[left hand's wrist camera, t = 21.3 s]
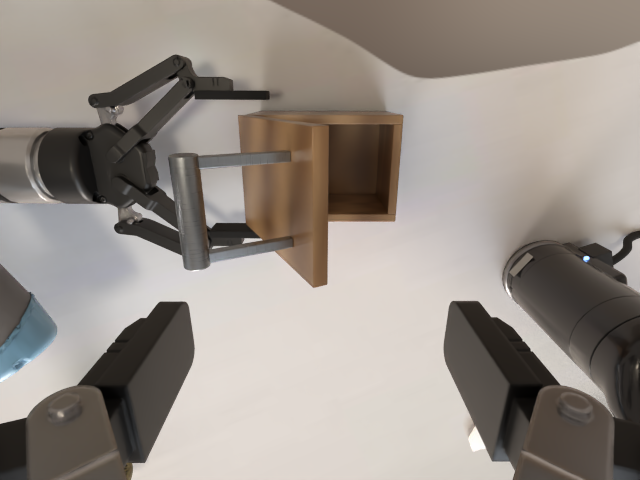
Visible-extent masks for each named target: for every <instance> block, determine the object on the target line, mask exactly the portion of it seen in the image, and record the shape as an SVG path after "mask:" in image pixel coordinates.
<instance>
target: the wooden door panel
mask: <svg viewBox="0 0 640 480" xmlns="http://www.w3.org/2000/svg"><path fill="white" fill-rule="evenodd" d="M238 121H239V134H240V148H241V153H235V154H220V155H204V156H198V154H195V153H178V154H172V155H169V156H168V159H169V166H170V173H171V180H172V187H173V194H174V201H175V208H176V215H177V222H178V229H179V236H180V243H181V250H182V257H183V264H184V268H185V269H186V270H190V271H198V270H203V269H206V268H208V267H209V266H210V264H211V263H213V262H218V261H223V260H229V259H234V258H239V257H245V256H250V255H255V254H261V253H266V252H271V251H275V252H276V253H277V254H278V255H279V256H280V257H281V258H282V259H283V260H285V261H286V262H287V263H288V264H289V265H290V266H291V267H292V268H293V269H294V270H295V271H296V272H297V273H298V274H299V275H300V276H301V277H302V278H304V279H305V280H306V281H307V282H308V283H309V284H310V285H311V286H312V287H313V288H315V287H319V286H323V285H327V261H328V159H329V126H328V125H321V124H314V123H306V122H298V121H291V120H283V119H276V118H268V117H260V116H253V115H238ZM235 166H242V175H243V189H244V203H245V216H246V224H247V225H248V226H249V227H250V228H251V229H252V230H253V231H254V232H255V233H256V234H257V235H258V236H259V237H260V238H261V239H262V241H257V242H251V243H245V244H239V245H233V246H228V247H222V248H216V249H210V250H209V244H208V235H207V226H206V218H205V209H204V200H203V191H202V182H201V174H200V169H210V168H223V167H235Z"/></svg>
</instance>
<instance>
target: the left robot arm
mask: <svg viewBox="0 0 640 480" xmlns="http://www.w3.org/2000/svg"><path fill="white" fill-rule="evenodd" d="M638 238H640V231H637V232H634V233H631V234H629V235H628V236H626V237H625V238H624V240H623V248H622V249H621V251H620V252H618V253H617V254H616V255H614V256H613V257H612V251H610V250H608V249H606V248H604V247H603V246H601V245H599V244H597V243H593V244H590V245H587V246H584V247H581V248H578V247H576V246H575V245H573V244H571V243H566V244H560V243H557V242H554V241H539V242H535V243H531V244H529V245H527V246H525V247H523V248H522V249H520V250H519V251H517V252H516V253H515V254H514V255H513V256H512V257H511V259H510V260H509V261H508V263H507V265H506V267H505V270H504V273H503V285H504V288H505V290H506V292H507V294H508V295H509V296H510V297H511V298H512V299H513V300H514V301H515V302H516V303H517V304H519V305H520V306H521V307H522V308H523V309H524V311H525V312H526V313H527V314H528V315H529V316H530V317H531V318H532V319H533V320H534V321H535V322H536V323H537V324H538V325H539V326H540V327H541V328H542V329H543V330H544V331H545V332H546V334H547V335H548V336H549V337H550V338H551V339H552V340H553V341H554V342H555V343H556V344H557V345H558V346H559V347H560V348H561V349H562V350H563V351H564V352H565V353H566V354H567V355H568V356H569V357H570V358H571V360H572V361H573V362H574V363H575V364H576V365H577V366H578V367H579V368H580V369H581V370H582V371H583V372H584V373H585V374H586V375H587V376H588V377H589V378H590V379H591V380H592V381H593V382H594V383H595V384H596V385H597V387H598V388H599V389H600V390H601V391H602V392H603V393H604V395H605V397H606V400H607V403H608V406H609V408H610V410H611V412H612V414H613V415H614V417H612V415H611V413H610V412H609V411H608V409H607V408H606V407H605V406H604V405H603V404H601V403H600V402H599V401H598V400H596V399H595V398H593V397H592V396H590V395H588V394H586V393H584V392H582V391H580V390H577V389H574V388H571V387H567V386H561V385H560V384H559V383H558V381H557V380H556V379H555V378H554V377H553V375H552V374H551V373H550V372H549V371H548V369H547V368H546V367H545V366H544V365H543V364H542V362H541V361H540V360H539V359H538V358H537V356H536V355H535V354H534V353H533V352H531V351H530V348H529V347H528V346H527V344H526V343H525V342H523V341H522V338H521V337H520V336H519V335H518V334H517V332H516V331H515V330H514V329H513V328H512V327H511V326H509V325H508V324H506V323H505V322H503V321H502V320H500V319H499V318H497V317H490V315H489V314H488V313H487V311H486V310H485V309H484V308H483V306H482V305H481V304H480V303H479V302H478V301H452V302H451V303H450V306H449V311H448V318H447V325H446V332H445V339H444V357H445V362H446V365H447V367H448V369H449V371H450V373H451V375H452V377H453V380H454V382H455V384H456V386H457V388H458V390H459V392H460V394H461V396H462V399H463V401H464V403H465V405H466V407H467V409H468V411H469V413H470V415H471V418H472V420H473V422H474V424H475V426H476V428H477V430H478V432H479V434H480V437H481V439H482V441H483V443H484V445H485V447H486V449H487V451H488V454H489V456H490V458H491V460H492V461H510V462H511V464H512V466H513V468H514V470H515V474H514V477H513V480H640V293H639V292H637V291H635V290H634V289H632V288H631V287H629V286H627V278H626V276H625V275H624V274H623V273H621V272H619V271H618V270H616V269H614V268H613V265H614V264H616V263H618V262H619V261H621V260H622V259H623V258H625V257H626V256H627V255H628V254H629V253H630V251H631V250H632V241H634V240H636V239H638ZM193 358H194V339H193V332H192V325H191V318H190V312H189V307H188V304H187V303H186V302H159V303H158V304H157V305H156V307H155V308H154V309H153V310H152V312H151V313H150V314H149V316H148V317H147V318H140V319H139V320H137V321H136V322H134V323H133V324H131V325H129V326H128V327H126V328H125V329H124V330H123V331H122V333H121V334H120V335H119V336H118V337H117V339H116V340H115V343H112V345H111V346H110V347H109V348H108V349H107V352H106V353H104V354H103V355H102V356H101V358H100V359H99V360H98V361H97V362H96V363H95V365H94V366H93V367H92V368H91V369H90V371H89V372H88V373H87V374H86V375H85V377H84V378H83V379H82V380H81V381H80V382H79V384H78V385H77V386H73V387H69V388H66V389H63V390H60V391H58V392H56V393H54V394H52V395H50V396H48V397H47V398H45V399H44V400H42V401H41V402H40V403H39V404H37V405H36V406H35V407H34V408H33V409H32V411H31V412H30V413H29V415H28V417H27V418H23V419H19V420H15V421H11V422H6V423H2V424H0V480H127V477H126V474H125V470H124V467H125V466H126V464H127V463H145V462H146V460H147V458H148V455H149V453H150V451H151V449H152V447H153V445H154V443H155V441H156V439H157V437H158V435H159V432H160V430H161V428H162V426H163V424H164V422H165V420H166V418H167V416H168V414H169V412H170V409H171V407H172V405H173V403H174V401H175V399H176V397H177V395H178V393H179V391H180V389H181V387H182V384H183V382H184V380H185V378H186V376H187V374H188V372H189V370H190V368H191V365H192V363H193Z"/></svg>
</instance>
